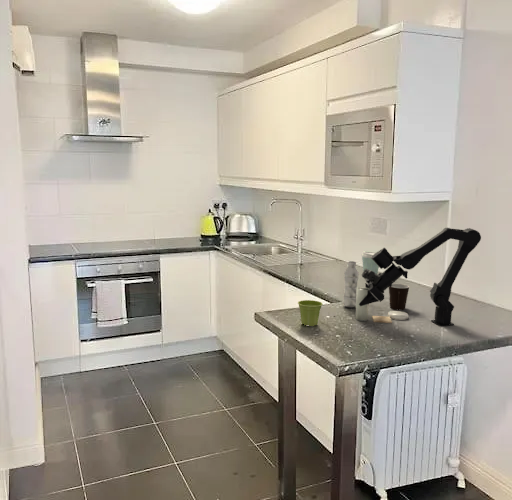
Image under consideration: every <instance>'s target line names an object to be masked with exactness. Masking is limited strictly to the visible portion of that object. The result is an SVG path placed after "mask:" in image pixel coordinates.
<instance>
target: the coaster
mask: <svg viewBox="0 0 512 500" xmlns="http://www.w3.org/2000/svg"><path fill="white" fill-rule="evenodd" d="M371 318H372V321H373V323H387V324H392V323H393V320H392V319H391V318H390V317H388V315H385V316H384V315H383V316H381V315H371Z"/></svg>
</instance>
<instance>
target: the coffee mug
mask: <svg viewBox="0 0 512 500" xmlns="http://www.w3.org/2000/svg"><path fill="white" fill-rule="evenodd" d="M409 289H410V286H409V285H408V284H404V283H403V284H402V283H393V284H392V286H391V287H390V286H389V287H388V297H389V298H388V299H389V308H390V309H391V310H392V311H405V310H406V305H407V300H408V296H409Z"/></svg>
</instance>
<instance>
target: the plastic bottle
mask: <svg viewBox="0 0 512 500" xmlns="http://www.w3.org/2000/svg"><path fill="white" fill-rule="evenodd" d="M359 275H360V274H359V271H358V269H357V262H356V261H347V268H346V269H345V271H344V273H343V277H344V278H343V280H344V290H343V291H344V292H343V297H342V305H343V306H344V307H345V308H356V295H357V288H358V281H359Z"/></svg>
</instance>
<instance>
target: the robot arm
mask: <svg viewBox="0 0 512 500" xmlns="http://www.w3.org/2000/svg"><path fill="white" fill-rule="evenodd" d="M448 240H455V241H458V245H457V249H456V251H455V253H454V255H453V258H452V259H451V261H450V263H449V265H448V266H447V269H446V271H445V273H444V275H443V276H442V279H441V280H440V281H439V283H436V282H434V283H433V286H432V288H431V289H430V290H429V292H430V294H429V297H430V299H431V301H432V302H433V303H434V305H435V310H434V319H431V321H430V322H431V323H433V324H435V325H437V326H440V327H442V326H445V327H446V326H455V323H454V322H452V314H453V313H452V312H453V311H454V309H455V306H454V304H452V302H451V301H450V298H451V294H452V287H453V284H454V282H455V281H456V279H457V276H458V275H459V273H460V271H461V269H462V268H463V265H464V264H465V261H466V260H467V258H468V255H469V254H470V253H471V252H472V251H474V249H475V248H476V247H478V245H479V243H480V241H481V240H482V235H481V233H480V232H479V231H478V230H476V229H474V228H470V227H469V228H465V229H459V228H450V227H445V228H443V229H442V230H441V231H439V232H438V233H436V234H435V235H434V236H432V237H431V238H429V239H428V240H427V241H425V242H424V243H422V244H421V245H419V246H418V247H417V246H416V248H413V249H409V250H408V251H406V252H404V253H402V254H400V255H392V254H391V253H390V252H389V251H388V250H387V248H386V247H383V248H381V249H380V250H378V251H375V252H376V253H375V254H374V255H373V256H372V258H371V259H372V260H373V261H374V262H375V263H376V264H377V265H378V266H379V269H380V270H382V269H384V271H383V272H379V273H377V274H376V273H375V272H373V271H372V270H371V271H370V270H368V269H366V268H365V270H364V271H363V270H362V274H361V277H362V278H363V279H365V283H364V284H365V285H364V286H365V287H364V288H369V289H368V290H367V295H366V296H365V297H364V298H363V300H362V301H361V302H360V303H359V305H360V306H363V305H367V304H369V305H370V304H373V303H377V302H380V303H381V302H382V301H384V300H385V294H384V293H385V291H386V290H387V289H389V286H390V287H391V286H392V284H395V283H396V281H397V280H399V279H401V277H404V278H405V279H408V270H412V269H414V268H415V267H416V266H417V265H418V264H419V263H420V262H422V261H421V260H422V259H423V258H425V257H426V256H427V255H428V254H430V253H431V252H433V251H434V250H436V249H437V248H439V247H440V246H441V245H443V244H445V243H446V242H448ZM397 265H398V266H397ZM404 269H405V270H404Z"/></svg>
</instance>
